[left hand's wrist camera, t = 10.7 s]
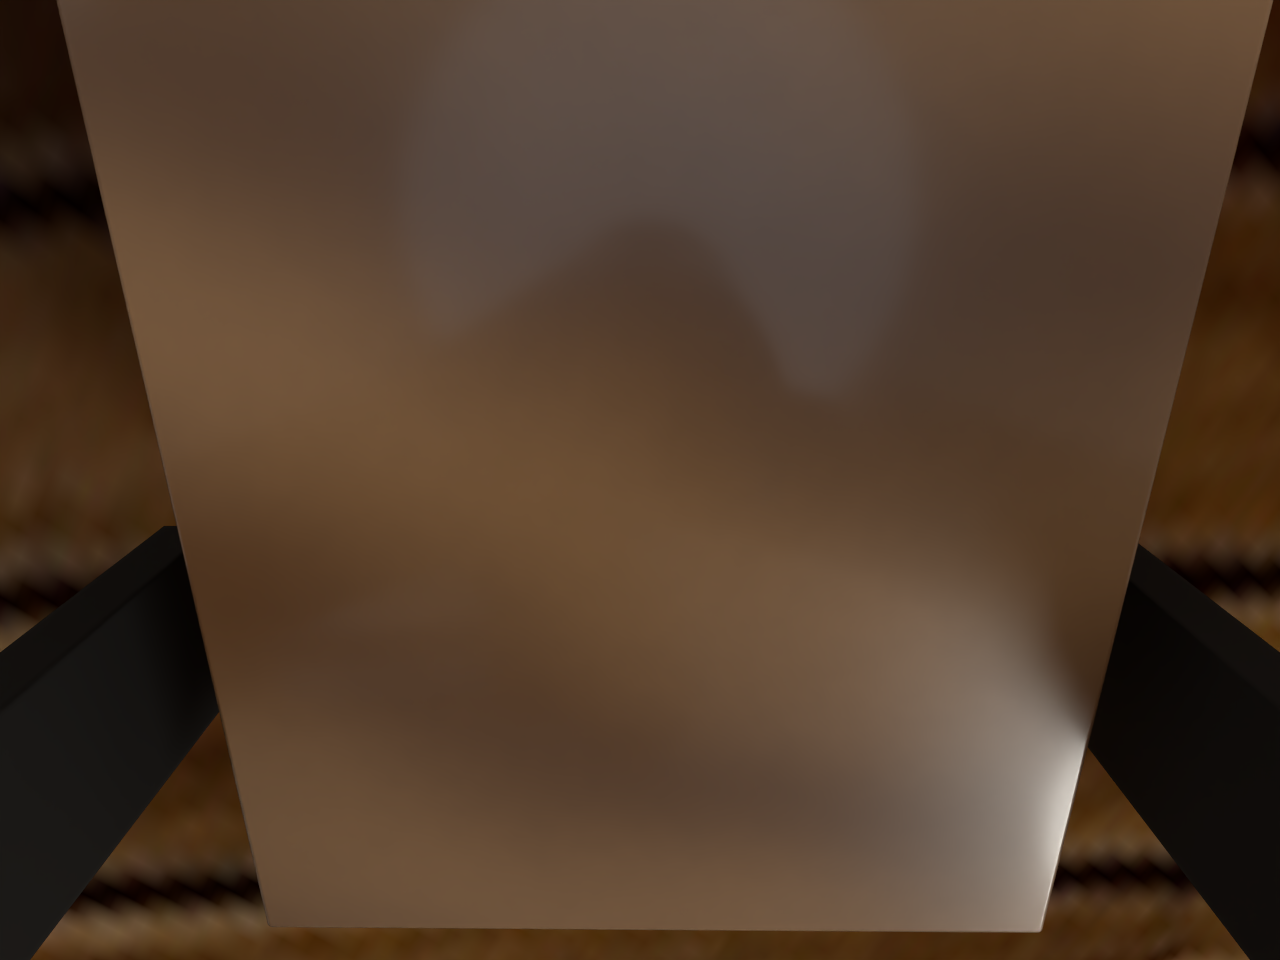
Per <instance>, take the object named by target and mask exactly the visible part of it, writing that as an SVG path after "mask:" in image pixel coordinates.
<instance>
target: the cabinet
mask: <svg viewBox="0 0 1280 960" xmlns="http://www.w3.org/2000/svg"><path fill="white" fill-rule="evenodd" d="M56 1H57V5H58V10H59V14H60V19H61V23H62V27H63V32H64V36H65V40H66V45H67V49H68V53H69V58H70V62H71V67H72V71H73V75H74V80H75V84H76V88H77V93H78V97H79V101H80V106H81V110H82V115H83V119H84V123H85V128H86V132H87V136H88V141H89V145H90V149H91V154H92V158H93V163H94V167H95V171H96V176H97V180H98V184H99V189H100V193H101V197H102V202H103V206H104V211H105V215H106V219H107V224H108V228H109V232H110V237H111V241H112V245H113V250H114V254H115V259H116V263H117V267H118V272H119V276H120V280H121V285H122V289H123V293H124V298H125V302H126V307H127V311H128V315H129V320H130V324H131V328H132V333H133V337H134V341H135V346H136V350H137V355H138V359H139V363H140V368H141V372H142V376H143V381H144V385H145V389H146V394H147V398H148V403H149V407H150V411H151V416H152V420H153V424H154V429H155V433H156V437H157V442H158V446H159V451H160V455H161V459H162V464H163V468H164V472H165V477H166V481H167V485H168V490H169V494H170V499H171V503H172V507H173V512H174V516H175V520H176V525H177V529H178V533H179V538H180V542H181V547H182V551H183V555H184V560H185V564H186V568H187V573H188V577H189V581H190V586H191V590H192V595H193V599H194V603H195V608H196V612H197V616H198V621H199V625H200V629H201V634H202V638H203V643H204V647H205V651H206V656H207V660H208V664H209V669H210V673H211V677H212V682H213V686H214V691H215V695H216V699H217V704H218V708H219V712H220V717H221V721H222V725H223V730H224V734H225V739H226V743H227V747H228V752H229V756H230V760H231V765H232V769H233V773H234V778H235V782H236V787H237V791H238V795H239V800H240V804H241V808H242V813H243V817H244V821H245V826H246V830H247V835H248V839H249V843H250V848H251V852H252V856H253V861H254V865H255V869H256V874H257V878H258V883H259V887H260V891H261V896H262V900H263V904H264V909H265V913H266V917H267V922H268V925H269V926H271V927H345V928H481V929H616V930H751V931H886V932H1022V933H1038V932H1040V931H1041V930H1042V928H1043V924H1044V920H1045V916H1046V912H1047V908H1048V904H1049V900H1050V896H1051V892H1052V888H1053V884H1054V879H1055V875H1056V871H1057V867H1058V863H1059V859H1060V855H1061V851H1062V847H1063V843H1064V839H1065V835H1066V831H1067V827H1068V823H1069V819H1070V815H1071V811H1072V807H1073V803H1074V799H1075V795H1076V791H1077V787H1078V783H1079V779H1080V775H1081V771H1082V767H1083V763H1084V759H1085V755H1086V751H1087V747H1088V743H1089V739H1090V735H1091V731H1092V727H1093V723H1094V719H1095V715H1096V711H1097V707H1098V703H1099V698H1100V694H1101V690H1102V686H1103V682H1104V678H1105V674H1106V670H1107V666H1108V662H1109V658H1110V654H1111V650H1112V646H1113V642H1114V638H1115V634H1116V630H1117V626H1118V622H1119V618H1120V614H1121V610H1122V606H1123V602H1124V598H1125V594H1126V590H1127V586H1128V582H1129V578H1130V574H1131V570H1132V566H1133V562H1134V558H1135V554H1136V550H1137V546H1138V542H1139V538H1140V534H1141V530H1142V526H1143V522H1144V518H1145V513H1146V509H1147V505H1148V501H1149V497H1150V493H1151V489H1152V485H1153V481H1154V477H1155V473H1156V469H1157V465H1158V461H1159V457H1160V453H1161V449H1162V445H1163V441H1164V437H1165V433H1166V429H1167V425H1168V421H1169V417H1170V413H1171V409H1172V405H1173V401H1174V397H1175V393H1176V389H1177V385H1178V381H1179V377H1180V373H1181V369H1182V365H1183V361H1184V357H1185V353H1186V349H1187V345H1188V341H1189V337H1190V332H1191V328H1192V324H1193V320H1194V316H1195V312H1196V308H1197V304H1198V300H1199V296H1200V292H1201V288H1202V284H1203V280H1204V276H1205V272H1206V268H1207V264H1208V260H1209V256H1210V252H1211V248H1212V244H1213V240H1214V236H1215V232H1216V228H1217V224H1218V220H1219V216H1220V212H1221V208H1222V204H1223V200H1224V196H1225V192H1226V188H1227V184H1228V180H1229V176H1230V172H1231V168H1232V164H1233V160H1234V156H1235V152H1236V147H1237V143H1238V139H1239V135H1240V131H1241V127H1242V123H1243V119H1244V115H1245V111H1246V107H1247V103H1248V99H1249V95H1250V91H1251V87H1252V83H1253V79H1254V75H1255V71H1256V67H1257V63H1258V59H1259V55H1260V51H1261V47H1262V43H1263V39H1264V35H1265V31H1266V27H1267V23H1268V19H1269V15H1270V11H1271V7H1272V3H1273V0H56Z"/></svg>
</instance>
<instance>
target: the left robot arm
mask: <svg viewBox="0 0 1280 960" xmlns="http://www.w3.org/2000/svg"><path fill="white" fill-rule="evenodd" d="M218 712H219V708H218V704H217V699H216V695H215V691H214V686H213V682H212V677H211V673H210V669H209V664H208V660H207V656H206V651H205V647H204V643H203V638H202V634H201V629H200V625H199V621H198V616H197V612H196V608H195V603H194V599H193V595H192V590H191V586H190V581H189V577H188V573H187V568H186V564H185V560H184V555H183V551H182V547H181V542H180V538H179V533H178V529H177V526H164V527H162V528H161V529H160V530H159V531H157V532H156V533H155V534H153V535H152V536H151V537H149V538H148V539H147V540H146V541H144V542H143V543H142V544H140V545H139V546H138V547H136V548H135V549H134V550H133V551H131V552H130V553H129V554H127V555H126V556H125V557H123V558H122V559H121V560H120V561H118V562H117V563H116V564H114V565H113V566H112V567H111V568H109V569H108V570H107V571H105V572H104V573H103V574H101V575H100V576H99V577H98V578H96V579H95V580H94V581H92V582H91V583H90V584H88V585H87V586H86V587H85V588H83V589H82V590H81V591H79V592H78V593H77V594H75V595H74V596H73V597H72V598H70V599H69V600H68V601H66V602H65V603H64V604H63V605H61V606H60V607H59V608H57V609H56V610H55V611H53V612H52V613H51V614H50V615H48V616H47V617H46V618H44V619H43V620H42V621H40V622H39V623H38V624H37V625H35V626H34V627H33V628H31V629H30V630H29V631H27V632H26V633H25V634H24V635H22V636H21V637H20V638H18V639H17V640H16V641H15V642H13V643H12V644H11V645H9V646H8V647H7V648H5V649H4V650H3V651H2V652H0V960H30V959H31V958H32V956H33V955H34V954H35V953H36V951H37V950H38V949H39V947H40V946H41V945H42V943H43V942H44V941H45V939H46V938H47V937H48V935H49V934H50V933H51V932H52V930H53V929H54V928H55V926H56V925H57V924H58V922H59V921H60V920H61V918H62V917H63V916H64V914H65V913H66V912H67V911H68V909H69V908H70V907H71V905H72V904H73V903H74V901H75V900H76V899H77V897H78V896H79V895H80V893H81V892H82V891H83V890H84V888H85V887H86V886H87V884H88V883H89V882H90V880H91V879H92V878H93V876H94V875H95V874H96V872H97V871H98V870H99V869H100V867H101V866H102V865H103V863H104V862H105V861H106V859H107V858H108V857H109V855H110V854H111V853H112V851H113V850H114V849H115V848H116V846H117V845H118V844H119V842H120V841H121V840H122V838H123V837H124V836H125V834H126V833H127V832H128V831H129V829H130V828H131V827H132V825H133V824H134V823H135V821H136V820H137V819H138V817H139V816H140V815H141V813H142V812H143V811H144V810H145V808H146V807H147V806H148V804H149V803H150V802H151V800H152V799H153V798H154V796H155V795H156V794H157V792H158V791H159V790H160V789H161V787H162V786H163V785H164V783H165V782H166V781H167V779H168V778H169V777H170V775H171V774H172V773H173V771H174V770H175V769H176V768H177V766H178V765H179V764H180V762H181V761H182V760H183V758H184V757H185V756H186V754H187V753H188V752H189V750H190V749H191V748H192V747H193V745H194V744H195V743H196V741H197V740H198V739H199V737H200V736H201V735H202V733H203V732H204V731H205V729H206V728H207V727H208V726H209V724H210V723H211V722H212V720H213V719H214V718H215V716H216V715H217V714H218ZM1088 748H1089V749H1090V750H1091V752H1092V753H1093V754H1094V756H1095V757H1096V758H1097V760H1098V761H1099V762H1100V764H1101V765H1102V766H1103V768H1104V769H1105V770H1106V771H1107V773H1108V774H1109V775H1110V777H1111V778H1112V779H1113V781H1114V782H1115V783H1116V785H1117V786H1118V787H1119V789H1120V790H1121V791H1122V792H1123V794H1124V795H1125V796H1126V798H1127V799H1128V800H1129V802H1130V803H1131V804H1132V806H1133V807H1134V808H1135V810H1136V811H1137V812H1138V813H1139V815H1140V816H1141V817H1142V819H1143V820H1144V821H1145V823H1146V824H1147V825H1148V827H1149V828H1150V829H1151V831H1152V832H1153V833H1154V834H1155V836H1156V837H1157V838H1158V840H1159V841H1160V842H1161V844H1162V845H1163V846H1164V848H1165V849H1166V850H1167V851H1168V853H1169V854H1170V855H1171V857H1172V858H1173V859H1174V861H1175V862H1176V863H1177V865H1178V866H1179V867H1180V869H1181V870H1182V871H1183V872H1184V874H1185V875H1186V876H1187V878H1188V879H1189V880H1190V882H1191V883H1192V884H1193V886H1194V887H1195V888H1196V890H1197V891H1198V892H1199V893H1200V895H1201V896H1202V897H1203V899H1204V900H1205V901H1206V903H1207V904H1208V905H1209V907H1210V908H1211V909H1212V911H1213V912H1214V913H1215V914H1216V916H1217V917H1218V918H1219V920H1220V921H1221V922H1222V924H1223V925H1224V926H1225V928H1226V929H1227V930H1228V932H1229V933H1230V934H1231V935H1232V937H1233V938H1234V939H1235V941H1236V942H1237V943H1238V945H1239V946H1240V947H1241V949H1242V950H1243V951H1244V953H1245V954H1246V955H1247V956H1248V958H1249V959H1250V960H1280V652H1278V651H1277V650H1276V649H1275V648H1273V647H1272V646H1271V645H1269V644H1268V643H1267V642H1265V641H1264V640H1263V639H1262V638H1260V637H1259V636H1258V635H1256V634H1255V633H1254V632H1253V631H1251V630H1250V629H1249V628H1247V627H1246V626H1245V625H1243V624H1242V623H1241V622H1240V621H1238V620H1237V619H1236V618H1234V617H1233V616H1232V615H1230V614H1229V613H1228V612H1227V611H1225V610H1224V609H1223V608H1221V607H1220V606H1219V605H1217V604H1216V603H1215V602H1214V601H1212V600H1211V599H1210V598H1208V597H1207V596H1206V595H1205V594H1203V593H1202V592H1201V591H1199V590H1198V589H1197V588H1195V587H1194V586H1193V585H1192V584H1190V583H1189V582H1188V581H1186V580H1185V579H1184V578H1182V577H1181V576H1180V575H1179V574H1177V573H1176V572H1175V571H1173V570H1172V569H1171V568H1169V567H1168V566H1167V565H1166V564H1164V563H1163V562H1162V561H1160V560H1159V559H1158V558H1157V557H1155V556H1154V555H1153V554H1151V553H1150V552H1149V551H1147V550H1146V549H1145V548H1144V547H1142V546H1141V545H1140V544H1138V546H1137V550H1136V554H1135V558H1134V562H1133V566H1132V570H1131V574H1130V578H1129V582H1128V586H1127V590H1126V594H1125V598H1124V602H1123V606H1122V610H1121V614H1120V618H1119V622H1118V626H1117V630H1116V634H1115V638H1114V642H1113V646H1112V650H1111V654H1110V658H1109V662H1108V666H1107V670H1106V674H1105V678H1104V682H1103V686H1102V690H1101V694H1100V698H1099V703H1098V707H1097V711H1096V715H1095V719H1094V723H1093V727H1092V731H1091V735H1090V739H1089V743H1088Z"/></svg>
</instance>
